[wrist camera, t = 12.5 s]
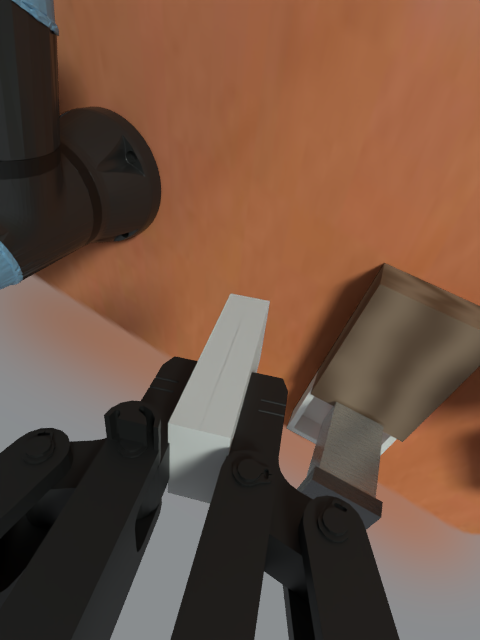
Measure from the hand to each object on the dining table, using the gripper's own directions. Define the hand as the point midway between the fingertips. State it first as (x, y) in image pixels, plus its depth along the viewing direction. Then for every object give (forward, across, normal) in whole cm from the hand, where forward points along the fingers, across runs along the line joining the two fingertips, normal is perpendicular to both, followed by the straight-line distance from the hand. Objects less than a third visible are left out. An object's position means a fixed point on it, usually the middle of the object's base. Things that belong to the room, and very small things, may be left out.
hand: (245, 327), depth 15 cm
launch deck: (+27, +15, -16) cm, 35 cm away
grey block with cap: (+22, +12, -26) cm, 36 cm away
